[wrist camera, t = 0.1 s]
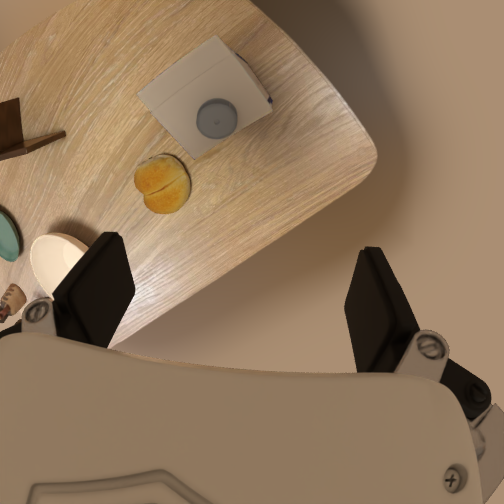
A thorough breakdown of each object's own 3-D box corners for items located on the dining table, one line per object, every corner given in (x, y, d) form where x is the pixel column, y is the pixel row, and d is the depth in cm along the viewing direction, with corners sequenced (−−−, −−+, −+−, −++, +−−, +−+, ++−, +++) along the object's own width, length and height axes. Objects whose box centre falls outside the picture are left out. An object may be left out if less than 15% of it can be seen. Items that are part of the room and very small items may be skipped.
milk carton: (246, 59, 30) (217, 33, 14) (274, 99, 33) (273, 113, 17) (201, 88, 33) (133, 95, 16) (228, 126, 36) (186, 167, 19)
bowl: (115, 308, 58) (102, 330, 52) (47, 270, 54) (32, 288, 48) (131, 244, 48) (115, 267, 42) (50, 200, 44) (29, 217, 38)
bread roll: (156, 215, 44) (147, 227, 41) (132, 166, 40) (120, 174, 36) (201, 199, 42) (194, 211, 39) (178, 146, 38) (168, 153, 34)
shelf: (16, 98, 32) (-22, 110, 23) (61, 80, 31) (19, 88, 23) (21, 146, 37) (-15, 165, 29) (66, 136, 37) (26, 154, 28)
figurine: (7, 285, 60) (-14, 312, 50) (15, 281, 58) (-8, 309, 48) (20, 303, 63) (1, 330, 53) (30, 300, 61) (8, 329, 51)
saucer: (-7, 243, 51) (-13, 248, 49) (-13, 195, 43) (-20, 200, 41) (27, 264, 54) (21, 271, 51) (22, 215, 46) (15, 221, 44)
